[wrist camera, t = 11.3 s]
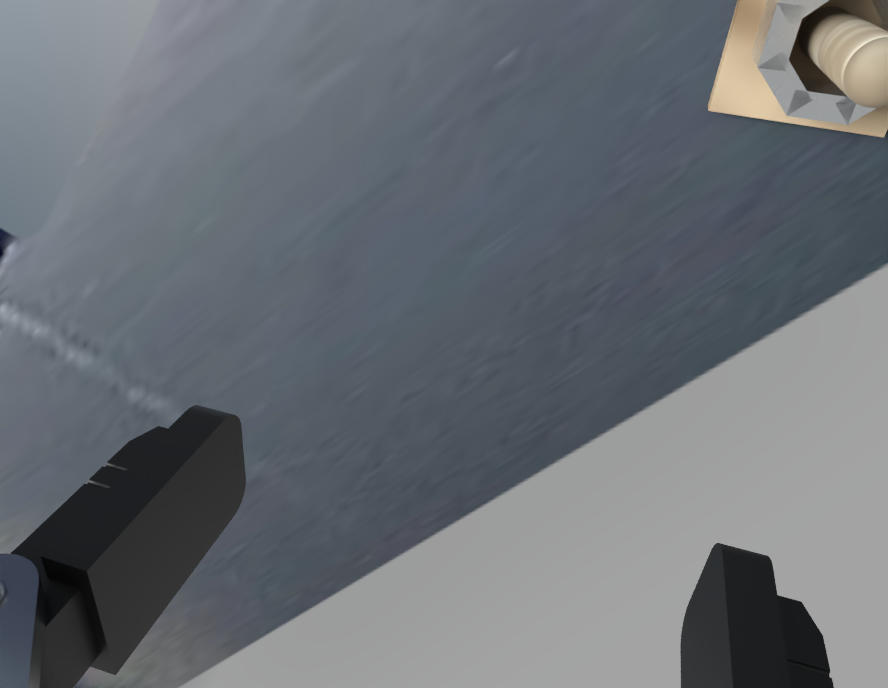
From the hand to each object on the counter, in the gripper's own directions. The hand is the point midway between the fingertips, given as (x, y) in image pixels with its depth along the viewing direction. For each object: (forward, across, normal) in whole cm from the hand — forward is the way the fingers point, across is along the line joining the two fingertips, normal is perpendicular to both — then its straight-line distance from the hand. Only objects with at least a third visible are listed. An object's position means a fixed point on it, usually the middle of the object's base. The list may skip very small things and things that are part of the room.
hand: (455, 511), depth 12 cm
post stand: (+30, -9, -5) cm, 32 cm away
